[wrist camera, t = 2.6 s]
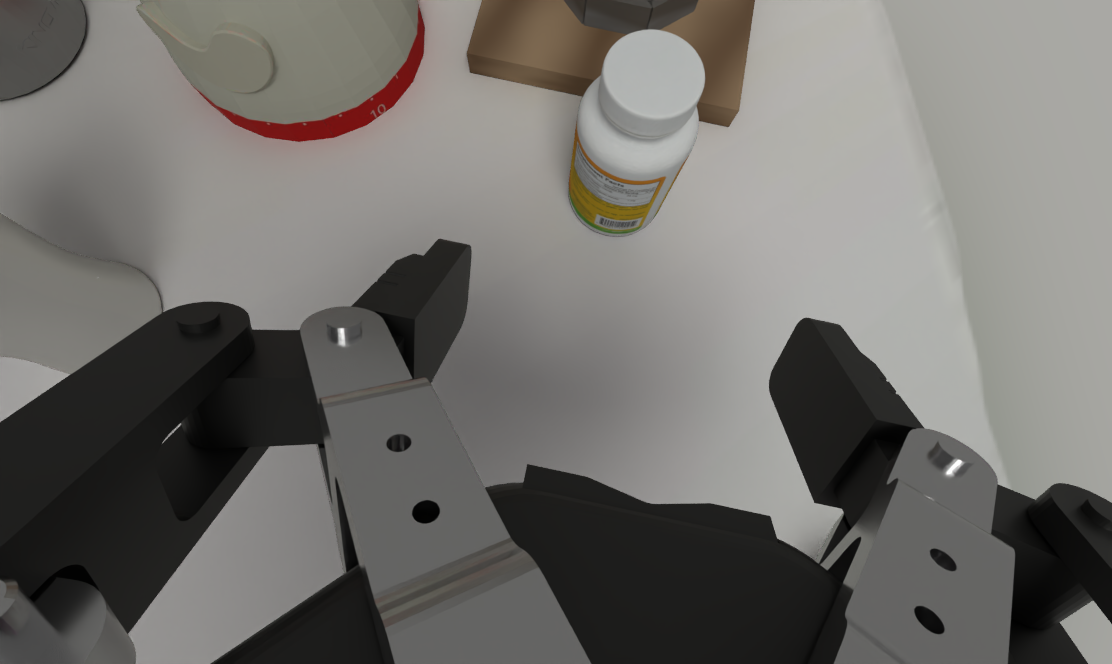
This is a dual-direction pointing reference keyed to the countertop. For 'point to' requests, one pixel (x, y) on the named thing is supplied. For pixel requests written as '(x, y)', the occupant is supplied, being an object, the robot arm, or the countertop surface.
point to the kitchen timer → (293, 59)
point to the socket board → (610, 42)
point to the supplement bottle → (635, 131)
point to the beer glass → (65, 301)
